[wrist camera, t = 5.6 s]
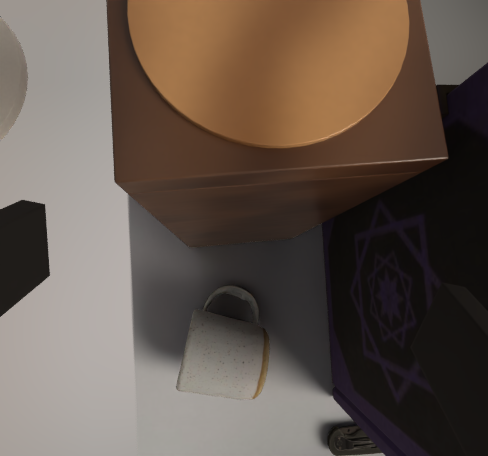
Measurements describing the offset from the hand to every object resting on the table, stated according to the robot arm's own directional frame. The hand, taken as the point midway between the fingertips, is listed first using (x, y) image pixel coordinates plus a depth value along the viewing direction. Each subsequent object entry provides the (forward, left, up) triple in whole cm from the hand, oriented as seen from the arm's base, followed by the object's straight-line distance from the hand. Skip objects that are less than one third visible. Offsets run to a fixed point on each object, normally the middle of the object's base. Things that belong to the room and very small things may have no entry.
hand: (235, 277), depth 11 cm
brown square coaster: (+2, +10, -2) cm, 10 cm away
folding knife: (+14, -21, -27) cm, 37 cm away
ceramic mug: (-1, -6, -28) cm, 28 cm away
